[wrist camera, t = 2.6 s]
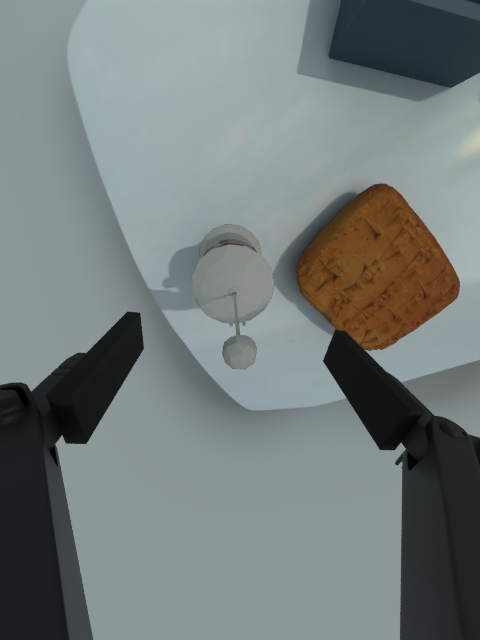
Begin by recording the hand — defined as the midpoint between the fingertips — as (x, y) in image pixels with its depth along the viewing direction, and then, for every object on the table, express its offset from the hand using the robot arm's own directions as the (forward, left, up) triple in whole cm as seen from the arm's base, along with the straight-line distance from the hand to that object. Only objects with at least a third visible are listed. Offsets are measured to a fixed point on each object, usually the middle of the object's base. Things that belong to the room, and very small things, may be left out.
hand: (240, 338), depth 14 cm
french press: (0, 0, -22) cm, 22 cm away
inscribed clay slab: (-1, +21, -22) cm, 30 cm away
